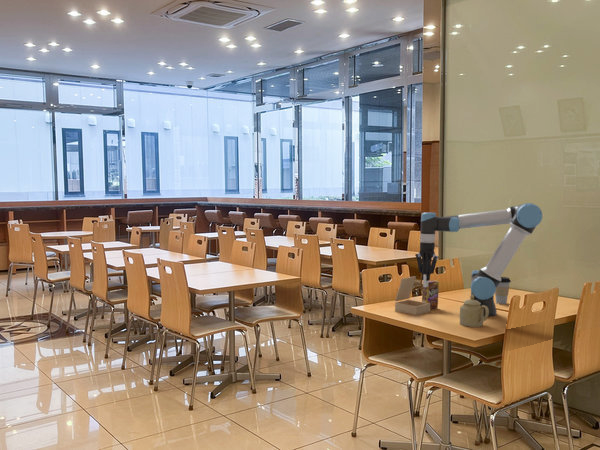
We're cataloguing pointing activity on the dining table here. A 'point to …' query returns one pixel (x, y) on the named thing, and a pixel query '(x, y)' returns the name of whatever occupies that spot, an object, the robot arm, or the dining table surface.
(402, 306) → the box
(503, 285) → the coffee cup
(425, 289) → the candy box
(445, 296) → the dining table surface
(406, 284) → the lid
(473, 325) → the grey round pot
